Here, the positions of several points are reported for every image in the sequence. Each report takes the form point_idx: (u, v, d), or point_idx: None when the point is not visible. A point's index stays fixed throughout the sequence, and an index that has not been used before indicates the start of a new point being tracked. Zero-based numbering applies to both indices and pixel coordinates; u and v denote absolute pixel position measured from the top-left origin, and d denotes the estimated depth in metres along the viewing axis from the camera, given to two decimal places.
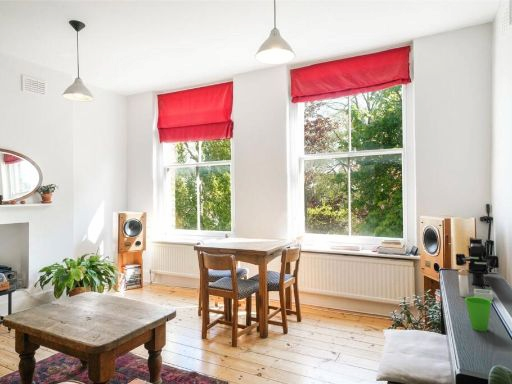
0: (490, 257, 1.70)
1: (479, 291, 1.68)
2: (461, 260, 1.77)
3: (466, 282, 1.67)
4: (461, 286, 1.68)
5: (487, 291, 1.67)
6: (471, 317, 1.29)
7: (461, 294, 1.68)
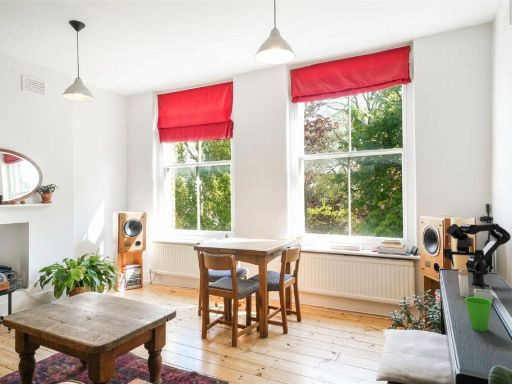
0: (476, 255, 1.75)
1: (479, 291, 1.68)
2: (448, 256, 1.83)
3: (466, 282, 1.67)
4: (461, 286, 1.68)
5: (487, 291, 1.67)
6: (471, 317, 1.29)
7: (461, 294, 1.68)
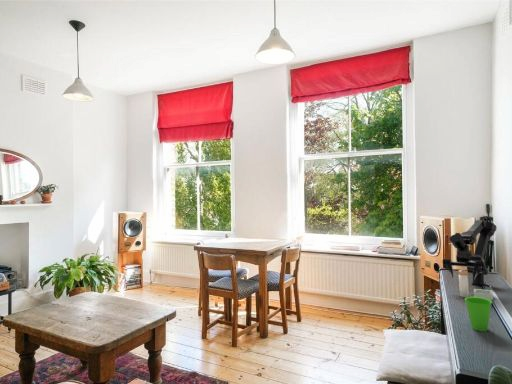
0: (476, 266, 1.69)
1: (479, 291, 1.68)
2: (448, 266, 1.78)
3: (466, 282, 1.67)
4: (461, 286, 1.68)
5: (487, 291, 1.67)
6: (471, 317, 1.29)
7: (461, 294, 1.68)
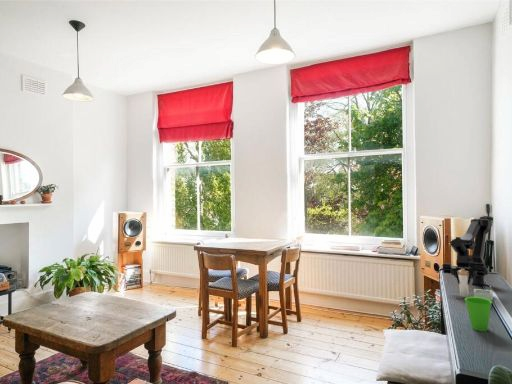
0: (471, 271, 1.68)
1: (479, 291, 1.68)
2: (453, 272, 1.74)
3: (466, 282, 1.67)
4: (461, 286, 1.68)
5: (487, 291, 1.67)
6: (471, 317, 1.29)
7: (461, 294, 1.68)
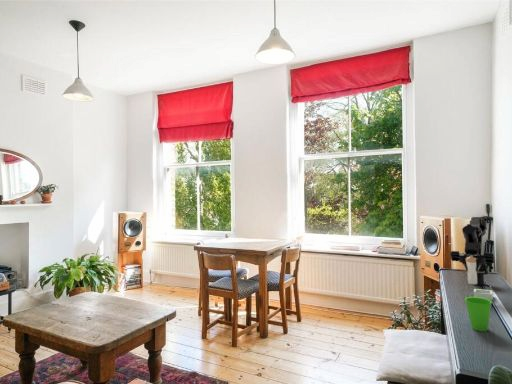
0: (479, 258, 1.66)
1: (479, 291, 1.68)
2: (461, 259, 1.73)
3: (474, 269, 1.66)
4: (469, 273, 1.67)
5: (487, 291, 1.67)
6: (471, 317, 1.29)
7: (469, 281, 1.67)
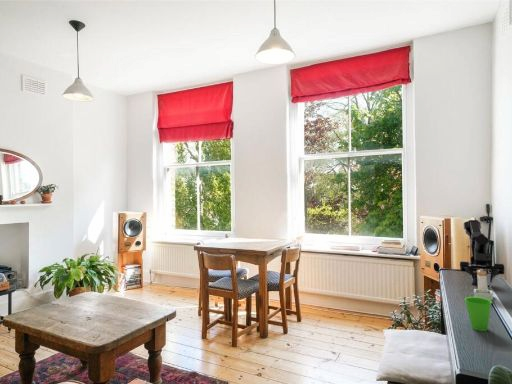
0: (493, 269, 1.64)
1: None
2: (468, 270, 1.71)
3: (485, 283, 1.63)
4: (480, 287, 1.64)
5: None
6: (471, 317, 1.29)
7: None
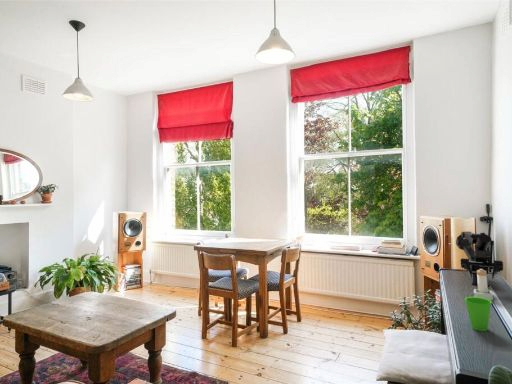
0: (495, 266, 1.71)
1: None
2: (466, 266, 1.79)
3: (485, 282, 1.64)
4: (480, 287, 1.64)
5: None
6: (471, 317, 1.29)
7: None
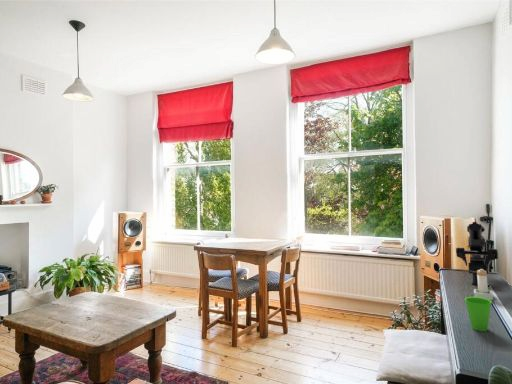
0: (490, 254, 1.73)
1: None
2: (461, 255, 1.82)
3: (485, 283, 1.63)
4: (480, 287, 1.64)
5: None
6: (471, 317, 1.29)
7: None
